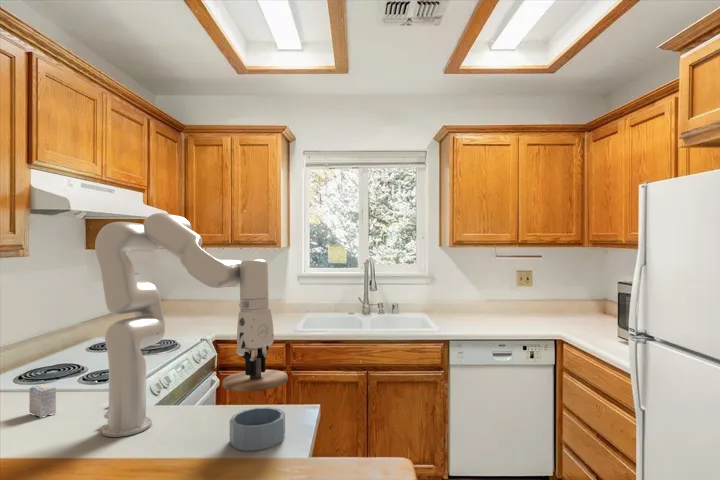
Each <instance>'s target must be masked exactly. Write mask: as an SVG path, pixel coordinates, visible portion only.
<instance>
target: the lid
mask: <svg viewBox="0 0 720 480" xmlns="http://www.w3.org/2000/svg"><path fill="white" fill-rule="evenodd" d="M254 360H256V375H255V376H249V375H246V374H245V371H241V372H235V373H232V374H230V375H228V376H226V377H224V378H223V379H222V383H221V384H222V387H223V388H224V389H225V390H226V391H232V392H242V393H243V392H259V391H266V390H270V389H274V388H277V387H281V386H282V385H284V384H286V383H287V382H288V380H289V379H288V377H289V376H288V374H287V373H286V372H285V371H281V370H279V369H265V372H261V358H255V357H254Z"/></svg>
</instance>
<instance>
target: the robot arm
mask: <svg viewBox="0 0 720 480" xmlns="http://www.w3.org/2000/svg"><path fill="white" fill-rule="evenodd" d="M192 229H193V228H192V224H191V223H190V221H189V220H187V219H186V218H185V217H183V216H181V215H177V214H170V213H169V214H168V213H163V212H162V213H161V212H157V213H153V214H150V215H148V217H147V218H145V220H144V222H143V223H138V222H137V223H136V222H131V221H130V222H129V221H114V222H110V223H107V224H105V225H104V226H103V227H102V228H101V229H100V230H99V232H98V234H97V235H96V237H95V240H94V241H95V244H94V248H95V254H96V259H97V261H98V264H99V268H100V272H101V280H102V286H103V287H102V288H103V292H104V300H105V304H106V308H107V310H108V312H109V313H111V314H112V315H129V314H133V313H134V316H133V317H127V318H122V319H120V320H117V321H115V322H113V323H112V324H110V326H108V328H107V329H106V332H105V334H104V343H105V348H106V352H107V359H108V413H105V414H103V418H104V419H106V420H107V423H106V424H105V425H104V426H103V427H102V428H101V434H102V435H103V436H105V437H107V438H119V437H120V438H121V437H127V436H131V435H135V434H138V433H141V432H143V431H146V430H147V429H149V428H150V427H151V426H152V423H153V419H152V418H150V417H148V416H147V364H146V359H145V357H144V354H143V353H142V352H143V351H142V349H144V348H147V347H151V346H155V345H156V344H158V343H159V342H161V340H162V339H163V338H164V336H165V332H166V323H165V317H164V311H163V310H164V309H163V304H162V299H161V294H160V291H159V289H158V288H157V287H156V285H155V284H154V283H152V282H151V281H147V280H137V276H136V272H135V266H134V264H133V262H132V260H131V259H130V258H129V255H127V254H126V252H128V251H129V252H130V251H131V252H152V251H157V250H161V249H165V250H166V251H167V252H170V254H172V255H174V256H175V257H176V258H178V259H179V261H180V263H181V265H182V267H183V268H184V270H185V271H186V272H187V274H189V275H190V276H192V277H193V278H194V279H196V280H197V281H199V282H200V283H201V284H203V285H205V286H207V287H210V288H213V289H221V288H231V287H239V304H238V306H239V312H238V318H237V326H236V327H237V328H236V342H237V343H236V345H237V347H236V351H235V352H236V353H235V354H237V355H239V356H241V357H242V358H243V360H244V363H245V366H244V367H245V369H244V370H245V371H244V372H245V374H246V375H249V376H255V375H256V360H254V358H261V372H265V370H266V357H267V355H268V350H269V349H270V347H271V346H272V345H273V343H274V342H275V338H274V337H275V336H274V334H275V333H274V322H273V315H272V311H271V308H270V307H269V306H270V305H269V265H268V261H266V260H265V259H245V260H239V259H219V258H215V257H214V255H212V254H209V253H208V252H207V251H205V250H204V249H202V245H203V237H201V235H199V234H198V233H197V232H195V231H194V230H192Z"/></svg>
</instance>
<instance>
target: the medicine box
mask: <svg viewBox="0 0 720 480" xmlns="http://www.w3.org/2000/svg"><path fill="white" fill-rule="evenodd" d="M28 407H29V408H28V409H29V412H30V413H32V414H34V415H37V416H39V417H43V416H47V415H50V414H53V413H56V414H57V387H55V386H53V385H48V384H40V385H36V386H32V387H30V388H29V406H28ZM39 417H38V418H39Z"/></svg>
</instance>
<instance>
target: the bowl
mask: <svg viewBox="0 0 720 480" xmlns="http://www.w3.org/2000/svg"><path fill="white" fill-rule="evenodd" d="M285 435H286V413H285V412H284V411H283V410H282V409H281V408H277V407H270V406H269V407H268V406H267V407H264V406H262V407H252V408H248V409H244V410H241V411H239V412H237V413H235V414H233V415H232V416H231V418H230V419H229V441H230V446H231V447H232V448H234V449H235V450H237V451H240V452H241V451H242V452H260V451H265V450H268V449H273V448H274V447H276V446H277V447H278V446H279V445H280V444H282V443H283V441H284V440H285Z"/></svg>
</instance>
